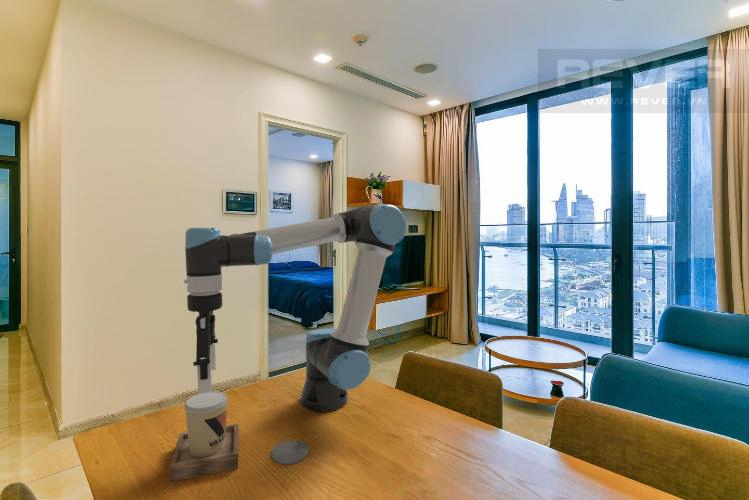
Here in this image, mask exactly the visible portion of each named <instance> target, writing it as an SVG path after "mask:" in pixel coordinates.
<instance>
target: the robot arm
mask: <svg viewBox="0 0 749 500" xmlns="http://www.w3.org/2000/svg"><path fill="white" fill-rule="evenodd" d="M406 232H407V222H406V218H405V216H404V214H403V212H402V211H401V210H400V209H399V208H398V207H397V206H395V205H392V204H387V203H386V204H385V203H379V204H373V205H364V206H359V207H357V208H352V209H349V210H347V211H343V212H338V213H334V214H333V215H332V216H331V217H328V218H322V219H317V220H311V221H306V222H299V223H295V224H289V225H282V226H277V227H271V228H267V229H260V230H254V231H249V232H244V233H234V234H233V233H232V234H229V235H222V232H221V230H220V228H219V227H190V228H188V229H187V230H186V231H185V244H184V246H185V247H184V250H185V269H186V270H185V271H186V279H184V280H183V283H184V284H187V285H186V287H187V288H186V291H187V293H189V294H188V295H187V296H186V300H187V301H186V302H187V305H186V306H187V310H188V311H189V312H192V313H195V312H197V313H198V315H197V317H196V319H195V326H196V330H195V331H196V332H195V334H196V352H195V353H196V358H195V361H193V362H192V365H193V367H196V371H197V372H196V374H197V376H196V377H197V394H200V393H206V392H211V391H212V390H213V389H212V371H215V370H216V369H217V367H216V366H217V363H216V344H218V342H219V341H218V340H219V339H218V338H216V332H215V328H216V327H215V326H216V324H215V323H216V322H215V321H216V315H215V314H214V311H217V310H220V309H221V308H222V307H223V293H222V292H221V291H222V290H223V274H222V267H226V268H227V267H240V266H241V267H242V266H260V265H268V264H270V263H271V262H272V260H273V259H272V258H273V255H275V254H280V253H285V252H289V251H294V250H299V249H300V250H301V249H304V248H309V247H315V246H318V245H324V244H329V243H333V242H337V243H340V244H343V243H350V242H354V243H355V244H354V245H355V246H356V248H357V250H358V251H357V254H356V258H355V263H354V266H353V270H352V273H351V277H350V281H349V285H348V288H347V292H346V295H345V300H344V303H343V306H342V307H343V308H342V311H341V314H340V318H339V321H338V326H337V328H320V329H315V330H311V331H309V332H308V333H307V334H306V336H305V338H306V339H305V363H306V364H305V370H306V371H305V375H306V376H305V381H304V383H303V388H302V390H301V393H300V404H301V406H302V407H303V408H304V409H307V410H309V411H314V412H329V411H330V412H331V411H335V410H338V409H340V408H342V407H344V406H345V405H346V404H347V403H348V402H349V393H348V391H349V390H353V389H355V388H358V387H359V386H360V385H362V384H363V383H364V382H365V381H366V380H367V378H368V377H369V375H370V372H371V370H372V369H371V365H372V364H371V363H372V362H371V360H370V358H369V355H368V354H367V353H368V349H369V346H370V342H369V339H368V338H367V333H368V329H369V326H370V321H371V317H372V315H373V309H374V306H375V303H376V299H377V294H378V290H379V288H380V287H379V286H380V282H381V280H382V275H383V272H384V268H385V264H386V260H387V258H388V257H390V256H391V255H393V253H394V250H395V246H396V244H398V243H399V242H401V241H402V240H403V239H404V237H405V235H406Z"/></svg>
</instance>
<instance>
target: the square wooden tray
mask: <svg viewBox="0 0 749 500" xmlns="http://www.w3.org/2000/svg"><path fill="white" fill-rule="evenodd" d="M239 432H240V431H239V423H234V424H228V425H227V424H226V430H225V444H224V447H223V448H222V449H221V450H220V451H219V452H217V453H215V454H213V455H210V456H207V457H195V456H193V455H191V454H190V450H189V441H188V431H185V432H179V435H178V437H177V440H176V443H175V446H174V450H173V454H172V457H171V460H170V463H169V468H168V469H169V482H170V483H171V482H176V481H181V480H187V479H191V478H192V479H193V478H196V477H201V476H202V477H204V476H206V475H211V474H212V475H213V474H217V473H222V472H228V471H231V470H237V469H239V445H240V444H239V439H240V438H239V437H240V436H239V434H240V433H239Z"/></svg>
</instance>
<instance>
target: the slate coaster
mask: <svg viewBox="0 0 749 500" xmlns="http://www.w3.org/2000/svg"><path fill="white" fill-rule="evenodd" d="M308 455H309V447H308V445H307V444H306V443H305V442H303V441H301V440H287V441H283V442H281V443H278V444H277V445H275V446H274V447H273V448H272V449H271V452H270V458H271V460H272V461H273V462H274V463H275V464H278V465H281V466H282V465H283V466H287V465H288V466H289V465H294V464H298V463H299V462H302V461H303V460H304V459H306V457H307V456H308Z"/></svg>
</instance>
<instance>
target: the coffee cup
mask: <svg viewBox="0 0 749 500" xmlns="http://www.w3.org/2000/svg"><path fill="white" fill-rule="evenodd" d="M228 400H229V399H228V396H227V394H226V393H224V392H222V391H217V390H216V391H214V390H213V391H211V392H206V393H199V394H198V393H197V394H194V395H193V396H190V397H189V398H188V399H187V400H186V402H185V403H184V404H185V405H184V410H185V417H186V418H185V419H186V420H185V421H186V427H187V431H186V432H188V441H189V450H190V454H191V455H193V456H195V457H207V456H210V455H213V454H215V453H217V452H219V451H220V450H221V449H222V448H223V447H224V444H225V430H226V426H227V411H228Z"/></svg>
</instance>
